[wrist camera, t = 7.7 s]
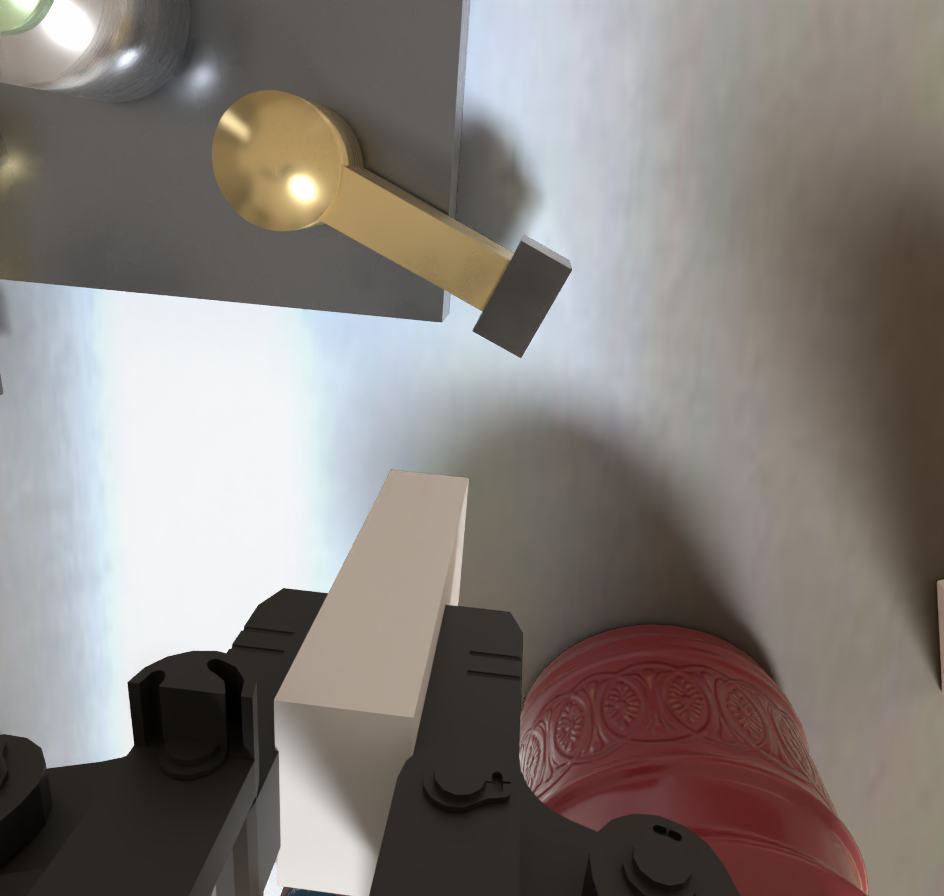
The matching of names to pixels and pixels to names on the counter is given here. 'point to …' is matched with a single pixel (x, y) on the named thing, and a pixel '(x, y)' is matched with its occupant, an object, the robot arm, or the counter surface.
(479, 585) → the counter surface
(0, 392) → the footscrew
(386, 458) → the counter surface
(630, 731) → the canister
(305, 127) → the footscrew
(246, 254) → the levelling base
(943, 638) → the milk
